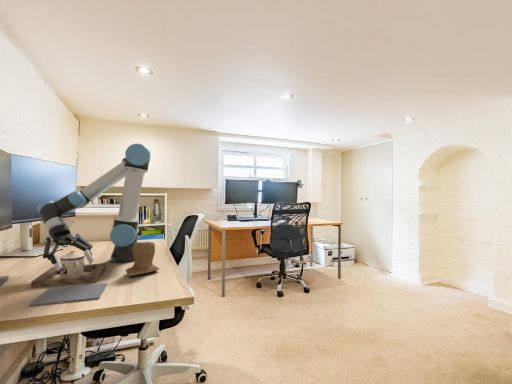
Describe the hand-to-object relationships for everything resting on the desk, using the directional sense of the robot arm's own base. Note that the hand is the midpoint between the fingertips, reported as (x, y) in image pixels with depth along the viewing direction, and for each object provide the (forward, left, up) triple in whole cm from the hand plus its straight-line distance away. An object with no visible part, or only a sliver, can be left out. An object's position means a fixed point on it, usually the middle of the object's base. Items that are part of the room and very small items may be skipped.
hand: (76, 265), depth 114 cm
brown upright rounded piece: (-26, 0, -6) cm, 27 cm away
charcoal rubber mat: (-4, +21, -5) cm, 22 cm away
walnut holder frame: (+2, -2, -5) cm, 6 cm away
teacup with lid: (+2, -2, -6) cm, 6 cm away
